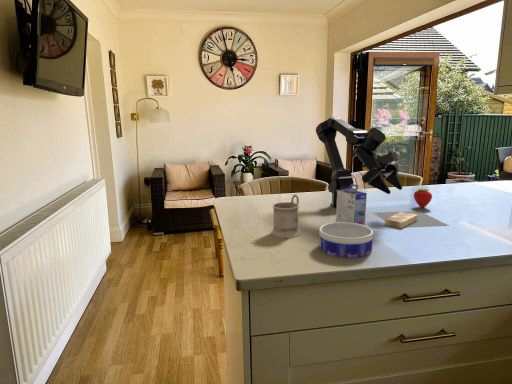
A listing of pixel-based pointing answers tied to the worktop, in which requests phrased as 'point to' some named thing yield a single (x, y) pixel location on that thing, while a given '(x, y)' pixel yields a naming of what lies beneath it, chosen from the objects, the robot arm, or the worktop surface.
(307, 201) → the worktop surface
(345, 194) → the ink cartridge box
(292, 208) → the mug
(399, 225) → the board
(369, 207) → the worktop surface
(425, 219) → the mat
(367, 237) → the dog bowl
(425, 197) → the strawberry
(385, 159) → the robot arm
